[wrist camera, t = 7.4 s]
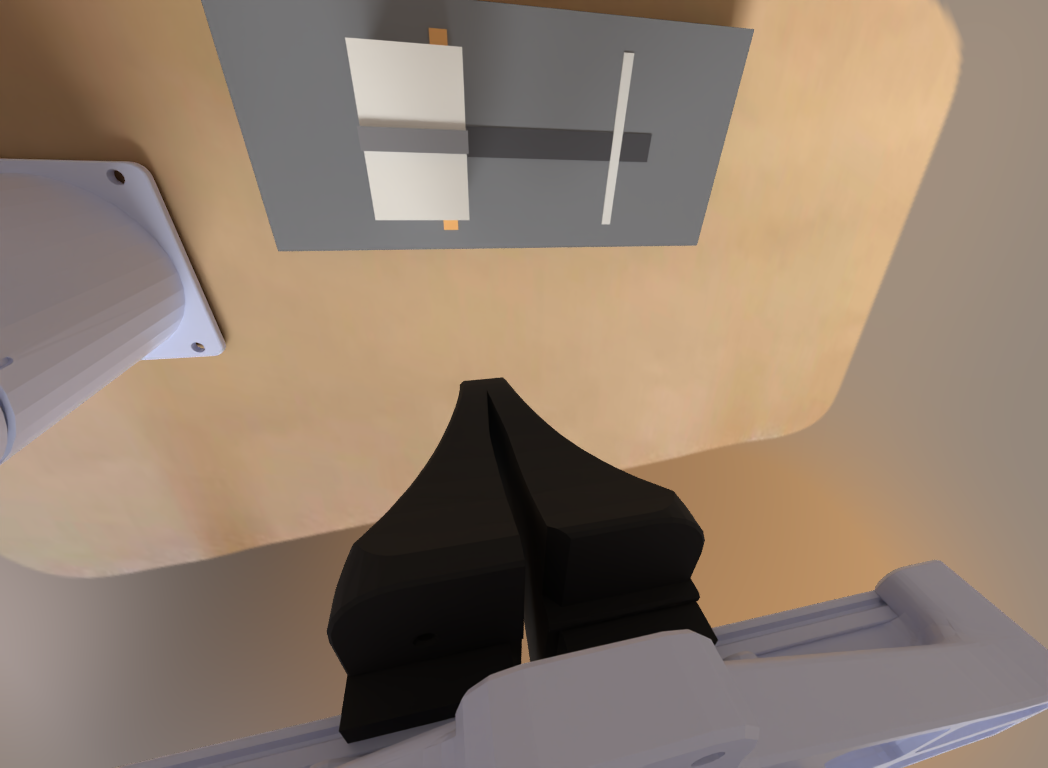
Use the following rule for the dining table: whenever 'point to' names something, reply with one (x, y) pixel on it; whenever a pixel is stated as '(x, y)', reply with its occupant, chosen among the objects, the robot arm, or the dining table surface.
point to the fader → (412, 128)
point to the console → (489, 120)
